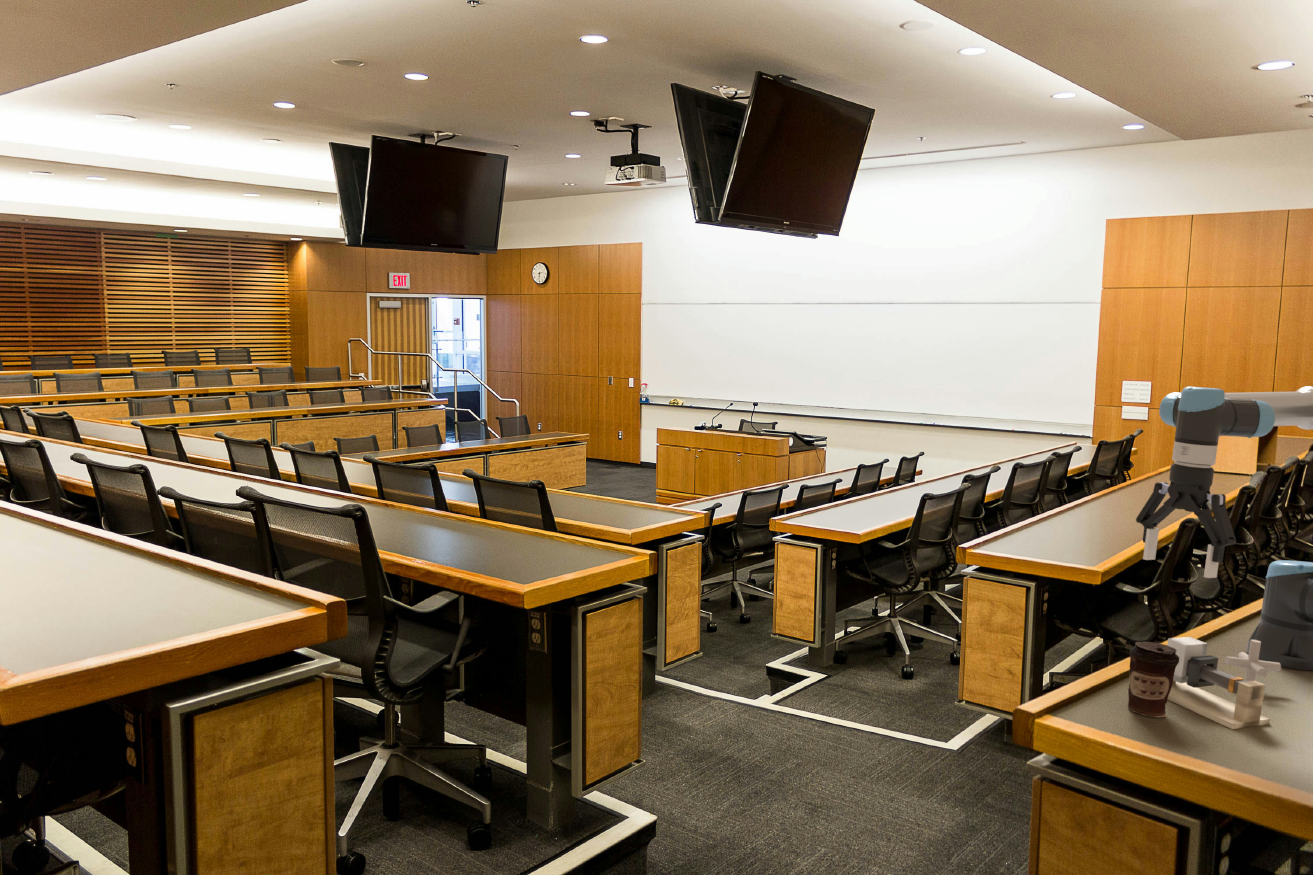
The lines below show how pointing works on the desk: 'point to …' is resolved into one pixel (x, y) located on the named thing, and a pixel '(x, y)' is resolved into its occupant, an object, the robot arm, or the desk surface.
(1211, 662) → the dark grey block
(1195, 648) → the sleeve
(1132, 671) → the coffee cup
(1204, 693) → the pipe rig
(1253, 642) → the pipe connector
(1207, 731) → the desk surface
